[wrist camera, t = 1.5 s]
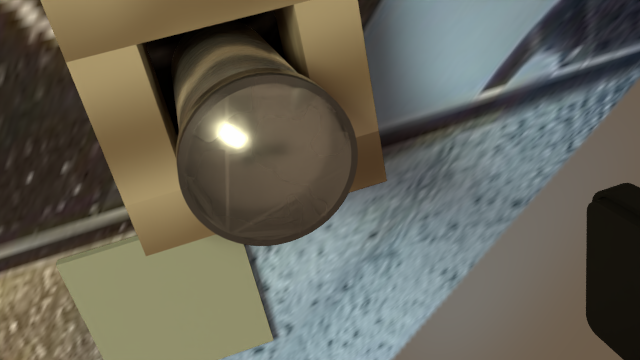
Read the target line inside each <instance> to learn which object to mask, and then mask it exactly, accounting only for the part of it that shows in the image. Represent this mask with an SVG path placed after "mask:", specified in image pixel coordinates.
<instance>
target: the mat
mask: <svg viewBox="0 0 640 360" xmlns="http://www.w3.org/2000/svg"><path fill="white" fill-rule="evenodd" d="M56 266H57V268H58V270H59V272H60V274H61V276H62V278H63V280H64V282H65V284H66V286H67V288H68V290H69V292H70V294H71V296H72V298H73V300H74V302H75V304H76V306H77V308H78V310H79V312H80V314H81V316H82V318H83V320H84V322H85V324H86V326H87V328H88V330H89V332H90V334H91V335H92V337H93V339H94V341H95V343H96V345H97V347H98V349H99V351H100V353H101V355H102V357H103V359H104V360H218V359H221V358H224V357H227V356H230V355H233V354H236V353H238V352H241V351H244V350H247V349H250V348H253V347H256V346H259V345H261V344H264V343H267V342H270V341H273V337H272V333H271V330H270V327H269V324H268V321H267V317H266V314H265V311H264V308H263V305H262V301H261V298H260V295H259V292H258V288H257V285H256V282H255V279H254V276H253V272H252V269H251V266H250V263H249V260H248V256H247V253H246V250H245V247H244V244H240V243H236V242H233V241H230V240H227V239H225V238H223V237H221V236H219V235H217V234H216V235H213V236H209V237H206V238H203V239H200V240H197V241H193V242H190V243H187V244H184V245H181V246H178V247H174V248H171V249H168V250H165V251H162V252H158V253H155V254H152V255H149V256H146V255H145V253H144V250H143V248H142V245H141V243H140V240H139V238H138V236H135V237H132V238H128V239H125V240H122V241H118V242H115V243H112V244H109V245H105V246H102V247H99V248H96V249H92V250H89V251H86V252H83V253H79V254H76V255H73V256H70V257H66V258H63V259H60V260H57V264H56Z"/></svg>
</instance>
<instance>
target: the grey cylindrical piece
mask: <svg viewBox="0 0 640 360" xmlns="http://www.w3.org/2000/svg"><path fill="white" fill-rule="evenodd" d="M171 75H172V83H173V90H174V97H175V105H176V112H177V119H178V126H179V134H178V139H177V145H176V163H177V172H178V180H179V185H180V189H181V192H182V195H183V197H184V199H185V202H186V204H187V205H188V207H189V209H190V210H191V212H192V213H193V214H194V216H195V217H196V218H197V219H198V220H199V221H200V222H201V223H202V224H203V225H204V226H205V227H206V228H208V229H209V230H211V231H212V232H214V233H215V234H217V235H219V236H221V237H223V238H225V239H227V240H230V241H233V242H236V243H240V244H245V245H252V246H271V245H278V244H283V243H287V242H290V241H293V240H296V239H299V238H301V237H303V236H305V235H307V234H309V233H311V232H313V231H314V230H316V229H317V228H319V227H320V226H321V225H323V224H324V223H325V222H326V221H327V220H328V219H330V218H331V216H332V215H333V214H334V213H335V212H336V211H337V210H338V209H339V207H340V206H341V205H342V203H343V202H344V200H345V198H346V197H347V195H348V193H349V191H350V189H351V186H352V184H353V181H354V178H355V174H356V169H357V163H358V148H357V140H356V136H355V132H354V129H353V127H352V124H351V122H350V120H349V118H348V116H347V115H346V113H345V111H344V110H343V109H342V107H341V106H340V105H339V104H338V102H336V101H335V100H334V99H333V98H332V97H331V96H330V95H329V94H328V93H327V92H326V91H325V90H324V89H323V88H322V87H320V86H319V85H318V84H316V83H315V82H314V81H312V80H311V79H309V78H307V77H305V76H303V75H301V74H298V73H297V72H296V71H295V70H294V69H293V68H292V67H291V66H290V65H289V64H288V63H287V62H286V61H285V60H284V59H283V58H282V57H281V56H280V55H279V54H278V53H277V52H276V51H275V50H274V49H273V48H272V47H271V46H270V45H269V44H268V43H267V42H266V41H265V40H264V39H263V38H262V37H261V36H260V35H259V34H258V33H257V32H256V31H255V30H253V29H252V28H250V27H249V26H247V25H245V24H243V23H241V22H238V21H234V20H231V21H227V22H223V23H219V24H215V25H211V26H207V27H203V28H200V29H196V30H192V31H188V32H187V33H186V34H185V35H184V36H183V37H182V38H181V40H180V41H179V43H178V44H177V46H176V49H175V51H174V54H173V57H172V62H171Z"/></svg>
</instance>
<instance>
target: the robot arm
mask: <svg viewBox="0 0 640 360" xmlns="http://www.w3.org/2000/svg"><path fill="white" fill-rule="evenodd" d="M586 266H587V267H586V317H587V321H588V324H589V326H590V327H591V329H592V331H593V332H594V333H595V334H596V335H597V336H598V337H599V338H600V339H601V340H602V341H604V342H605V343H606V344H607V345H608V346H609V347H610V348H611V349H612V350H614V351H615V352H616V353H617V354H618V355H619V356H620V357H621V358H622V359H624V360H640V188H639V187H637V186H635V185H633V184H630V183H623V184H620V185H617V186H614V187H611V188H608V189H605V190H602V191H599V192H597V193H596V194H595V195H594V197H593V200H592V202H591V203H590V204H589V205H588V207H587V259H586Z"/></svg>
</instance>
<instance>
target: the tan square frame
mask: <svg viewBox="0 0 640 360" xmlns="http://www.w3.org/2000/svg"><path fill="white" fill-rule="evenodd" d="M41 3H42V5H43V8H44V10H45V12H46V15H47V17H48V20H49V22H50V25H51V27H52V29H53V32H54V34H55V37H56V39H57V42H58V44H59V46H60V49H61V51H62V54H63V56H64V58H65V61H66V63H67V66H68V68H69V71H70V73H71V75H72V78H73V80H74V83H75V85H76V88H77V90H78V92H79V95H80V97H81V100H82V102H83V105H84V107H85V109H86V112H87V114H88V117H89V119H90V122H91V124H92V126H93V129H94V131H95V134H96V136H97V139H98V141H99V143H100V146H101V148H102V151H103V153H104V156H105V158H106V160H107V163H108V165H109V168H110V170H111V173H112V175H113V177H114V180H115V182H116V185H117V187H118V190H119V192H120V194H121V197H122V199H123V202H124V204H125V207H126V209H127V211H128V214H129V216H130V219H131V221H132V224H133V226H134V228H135V231H136V233H137V236H138V238H139V240H140V243H141V245H142V248H143V250H144V253H145V255H146V256H149V255H152V254H155V253H158V252H162V251H165V250H168V249H171V248H174V247H178V246H181V245H184V244H187V243H190V242H193V241H197V240H200V239H203V238H206V237H209V236H213V235H216V234H215V233H214V232H212V231H211V230H209V229H208V228H206V227H205V226H204V225H203V224H202V223H201V222H200V221H199V220H198V219H197V218H196V217H195V216H194V214H193V213H192V212H191V210H190V209H189V207H188V205H187V204H186V202H185V199H184V197H183V195H182V192H181V189H180V185H179V180H178V172H177V163H176V145H177V139H178V137H177V134H176V131H175V128H174V125H173V123H172V120H171V117H170V114H169V111H168V108H167V105H166V102H165V99H164V96H163V93H162V90H161V87H160V84H159V81H158V79H157V76H156V73H155V70H154V67H153V64H152V61H151V58H150V55H149V52H148V49H147V46H146V43H145V42H148V41H152V40H156V39H160V38H164V37H168V36H172V35H176V34H180V33H184V32H188V31H192V30H196V29H200V28H203V27H207V26H211V25H215V24H219V23H223V22H227V21H231V20H235V19H239V18H243V17H247V16H251V15H255V14H259V13H262V12H266V11H270V10H274V13H275V17H276V22H277V26H278V30H279V35H280V39H281V43H282V48H283V52H284V57H285V61H286V62H287V63H288V64H289V65H290V66H291V67H292V68H293V69H294V70H295V71H296V72H297V73H298V74H301V75H303V76H305V77H307V78H309V79H311V80H312V81H314V82H315V83H316V84H318V85H319V86H320V87H322V88H323V89H324V90H325V91H326V92H327V93H328V94H329V95H330V96H331V97H332V98H333V99H334V100H335V101H336V102H338V104H339V105H340V106H341V107H342V109H343V110H344V111H345V113H346V115H347V116H348V118H349V120H350V122H351V124H352V127H353V129H354V132H355V136H356V140H357V148H358V163H357V169H356V174H355V178H354V181H353V184H352V186H351V189H350V191H349V193H350V192H353V191H356V190H359V189H363V188H366V187H369V186H372V185H375V184H379V183H382V182H385V181H387V179H386V173H385V166H384V160H383V154H382V148H381V142H380V135H379V129H378V123H377V117H376V111H375V105H374V98H373V92H372V86H371V80H370V74H369V67H368V61H367V55H366V49H365V43H364V36H363V30H362V24H361V18H360V12H359V5H358V0H41Z"/></svg>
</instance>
